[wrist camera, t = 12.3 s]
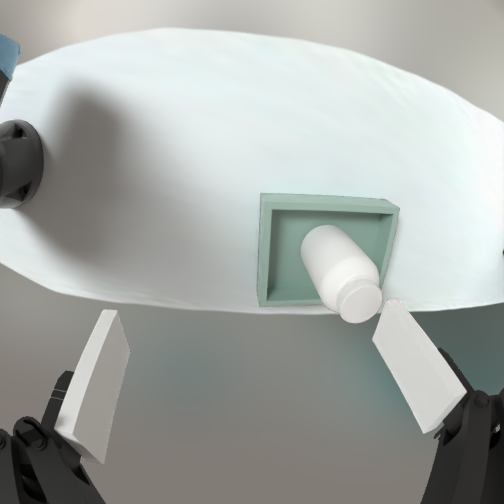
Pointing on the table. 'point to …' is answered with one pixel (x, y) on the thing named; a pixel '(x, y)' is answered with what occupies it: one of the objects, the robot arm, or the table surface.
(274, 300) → the box
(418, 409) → the robot arm
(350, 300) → the pill bottle
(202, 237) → the table surface
